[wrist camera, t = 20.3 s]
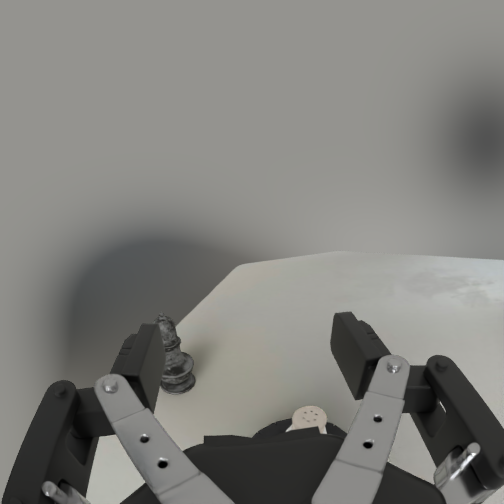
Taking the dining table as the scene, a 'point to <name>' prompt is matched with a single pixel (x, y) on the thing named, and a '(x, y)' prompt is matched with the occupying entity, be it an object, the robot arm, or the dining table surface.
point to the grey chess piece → (174, 360)
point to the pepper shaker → (309, 418)
